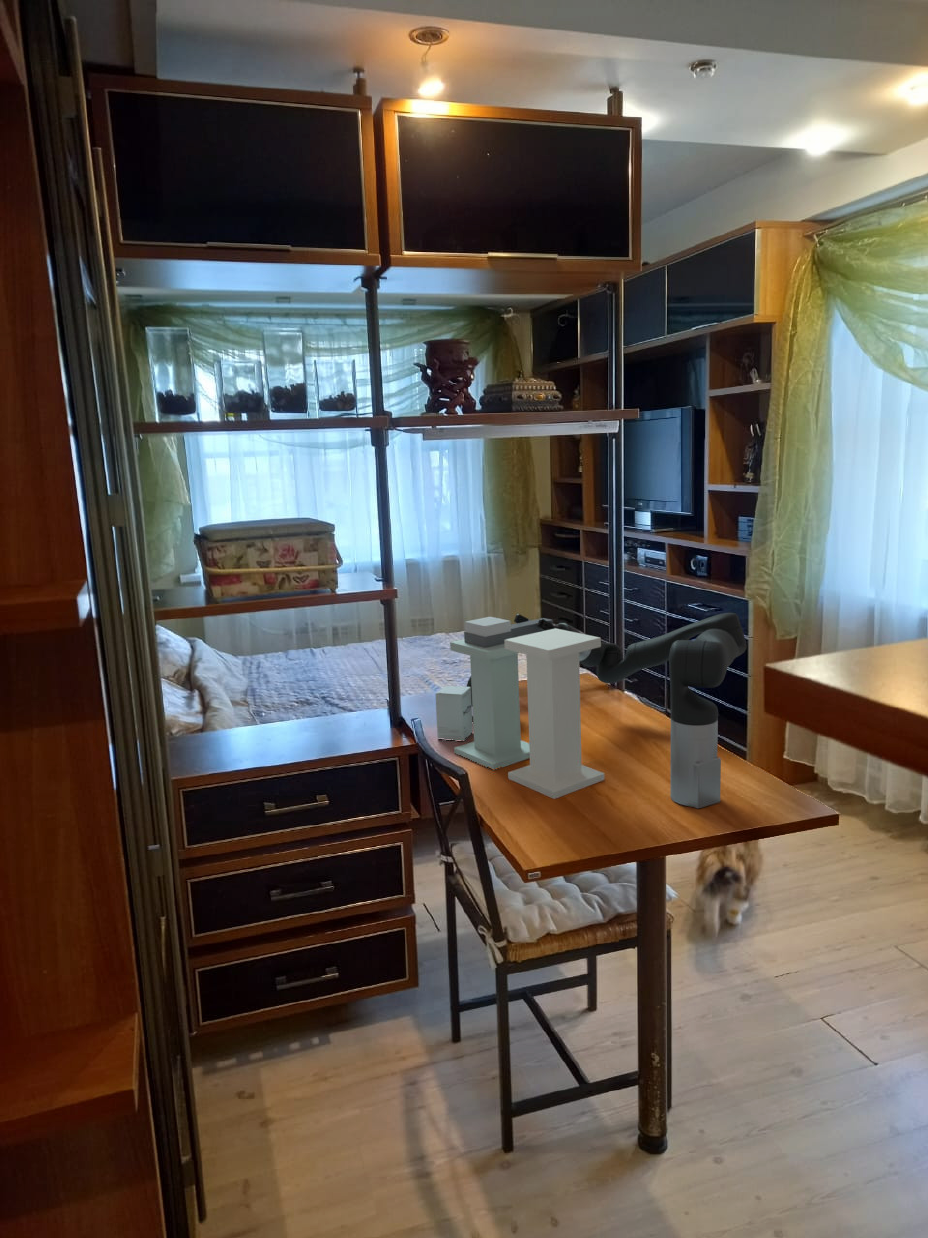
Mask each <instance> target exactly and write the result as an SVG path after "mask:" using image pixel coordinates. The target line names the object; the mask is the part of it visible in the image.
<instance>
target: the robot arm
mask: <svg viewBox="0 0 928 1238" xmlns="http://www.w3.org/2000/svg"><path fill="white" fill-rule="evenodd" d="M538 619H539V622H538V625H537V627H538V628H540V629H542V630H544V631H546V630H551V629H555V628H556V629H561V630H566V631H571V632H575V633H580V634H585V635H587V634H586V633H585V632H583V631H581V630H579V629H577V628H575V627H573V626H572V625H570V624H568V623H566V622H560V623H557V624H556V623H553V624H551V623H549V622H548V621H546V620H544V619H541V618H538ZM531 620H532V619H531V618H527V617H525V616H523V615H522V614H519V613H517V614H516V615H515V617H514V620H513V622H514V624H517V623H522V622H527V621H531ZM697 635H698V636H697ZM696 636H697V637H696ZM693 637H696V638H695V639H694V640H690V639H692V638H693ZM747 645H748V644H747V641H746V638H745V634H744V631H743V627H742V624H741V621H740V618H739V616H738V614H736V612H724V613H720V614H716V615H713V616H709V617H707V618H703V619H701V620H698V621H695V622H693V623H690V624H688V625H684V626H681V627H680V628H676V629H674V630H672V631H670V632H667V633H665V634H662V635H659V636H656V637H653V638H649V639H646V640H645V639H644V640H642V641H637V642H635V643H631V644H629V645H628V646H627V649H626V651H625V655H624V654H623V653H624V652H623V650H622V648H621V647H620V646H619V644H616V643H611V642H602V641H601V647H598V648H594V649H590V650H586V651H582V652H579V664H582V665H583V666H585V667H589V668H593V667H596V676H597V678H598V680H599V681H600V682H602V683H604V684H615V683H618V682H620V681H623V680H624V679H626V678H627V677H629V676H632V675H633V674H635V673H637V672H639V671H641V670H644V669H649V668H652V667H656V666H660V665H663V664H665V663H666V662H668V669H669V670H668V671H669V673H668V674H669V685H670V774H669V775H670V799H671V800H672V802H675V803H676V804H680V805H682V806H684V807H685V806H686V807H693V808H695V809H701V808H704V807H707V806H711V805H714V804H715V805H716V804H719V803H720V802H721V778H722V777H721V775H722V774H721V770H722V768H721V767H722V765H721V764H722V759H721V757H720V756H718V735H719V734H718V727H719V725H718V723H719V721H718V720H719V709H718V706H717V705H716V704H715V703H714V702H713V701H711V700H709V699H707V698H704V697H702V696H699V694H696V693H695V692H694V691H693V690H691V689H690V687H691V688H707V689H708V688H709V689H711V688H716V687H719V686H720V685H721V684H722V682H723V681H724V679H725V677H726V674H727V669H728V667H730V666H731V664H732V663H733V662H734V661H735V659H736V658H739V657H740V656H741V655H742V654H744V653H745V651H746V650H747V647H748V646H747Z"/></svg>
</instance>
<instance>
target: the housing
mask: <svg viewBox="0 0 928 1238" xmlns="http://www.w3.org/2000/svg"><path fill="white" fill-rule="evenodd" d="M539 619H544V620H546V621H548V622H549V623H551V624H554V620H553V619H550V618H545V617H542V618H541V617H540V618H537V619H533V620H532V619H530V620H531V621H527V622H522V623H513V624H512V622H511V620H507V619H503V618H498V617H494V616H486V617H482V618H477V619H472V620H471V619H470V620H467V621H464V631H463V633H464V634H463V639H464V641H465V643H469V644H473V645H476V646H480V647H484V648H487V647H492V646H496V645H501V644H505V642H504V640H506V639H510V638H515V637H519V636H524V635H528V634H533V633H537V632H542V631H544V630H542V629H540V628H538V627H537V625H538V622H539Z"/></svg>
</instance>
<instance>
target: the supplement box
mask: <svg viewBox="0 0 928 1238" xmlns="http://www.w3.org/2000/svg"><path fill="white" fill-rule="evenodd" d="M434 694H435V711H436V713H435V715H436V728H437V729H436V734H437V736H436V737H437V739H438V738H444V739H451V740H452V739H453V740H461V741H463V740H464V741H466V739H467V738H469V736H471V735H472V734H473V733H474V728H473V724H472V716H473V707H472V704H471V687H466V686H460V685H459V686H457V685H444V686H443V687H442V688H440V689H439V690H438V691H436V692H435V693H434ZM472 732H473V733H472ZM471 733H472V734H471ZM466 737H467V738H466ZM465 738H466V739H465Z"/></svg>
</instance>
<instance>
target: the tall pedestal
mask: <svg viewBox="0 0 928 1238" xmlns="http://www.w3.org/2000/svg"><path fill="white" fill-rule="evenodd" d="M585 634H586V633H584V634H580V633H575V632H571V631H566V630H561V629H556V628H555V629H551V630H546V631H542V632H537V633H533V634H528V635H524V636H519V637H515V638H510V639H506V640H504V642H505V649H507V650H511V651H515V652H519V653H518V654H524V655H526V683H527V685H526V686H527V712H528V713H527V714H528V741H529V742H528V743H529V749H530V758H529V765H526V766H525V765H524V766H523V767H520V768H517V769H513V770H511V771H508V773H507V777H508V780H509V781H513V782H515V783H517V784H519V785H522V786H524V787H526V788H528V789H531V790H532V791H535V792H538V793H540V794H542V795H543V796H547V797H548V798H551V799H554V800H555V799H559V798H560V797H563V796H566V795H568V794H571V793H575V792H576V791H579V790H581V789H584V788H586V787H589V786H592V785H594V784H597V783H599V782H602V781H604V780H605V773H604V772H602V771H599V770H598V769H594V768H592V767H588V766H586V765H584V764H582V735H581V734H582V733H581V732H582V731H581V730H582V728H581V727H582V724H581V723H582V722H581V719H582V718H581V683H580V682H581V681H580V680H581V677H580V676H581V675H580V673H581V672H580V663H579V652H582V651H586V650H590V649H594V648H598V647H601V642H602V638H601V637H599V636H594V635H590V634H586V635H585Z"/></svg>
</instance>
